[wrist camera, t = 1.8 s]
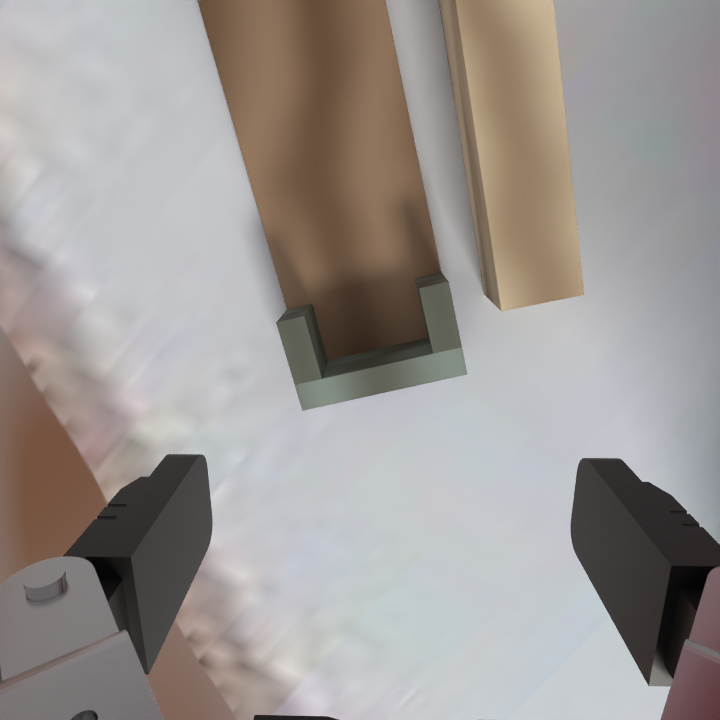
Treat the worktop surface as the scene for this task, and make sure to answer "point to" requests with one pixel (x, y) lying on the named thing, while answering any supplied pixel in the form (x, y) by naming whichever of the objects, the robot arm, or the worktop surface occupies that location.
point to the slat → (514, 147)
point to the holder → (337, 194)
